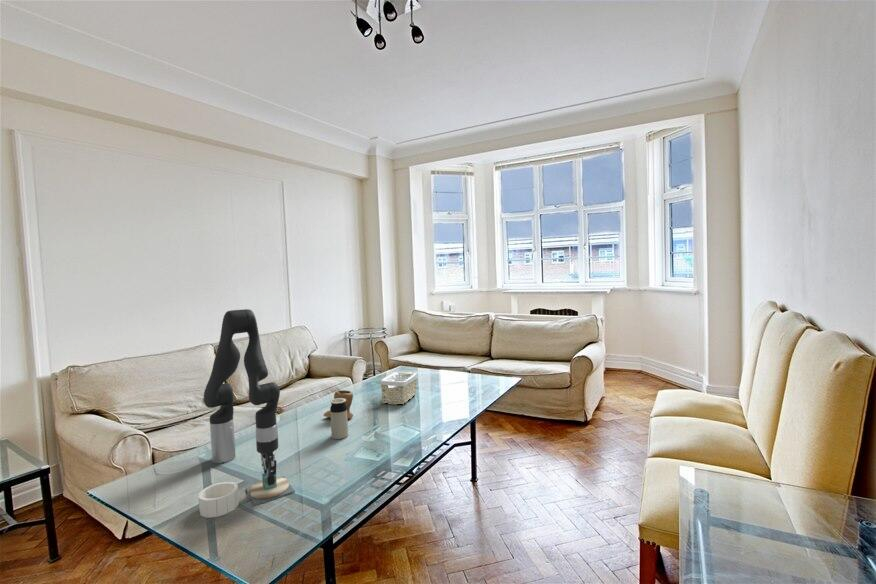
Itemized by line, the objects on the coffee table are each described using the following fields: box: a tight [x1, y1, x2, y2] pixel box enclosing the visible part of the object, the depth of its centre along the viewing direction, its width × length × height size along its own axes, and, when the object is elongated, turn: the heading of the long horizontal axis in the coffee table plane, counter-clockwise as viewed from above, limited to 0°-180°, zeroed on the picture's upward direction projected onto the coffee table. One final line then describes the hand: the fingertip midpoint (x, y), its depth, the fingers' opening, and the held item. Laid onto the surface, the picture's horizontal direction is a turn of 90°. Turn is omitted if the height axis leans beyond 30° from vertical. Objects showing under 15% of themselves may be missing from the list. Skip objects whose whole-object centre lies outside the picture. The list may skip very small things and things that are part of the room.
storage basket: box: [380, 371, 418, 405], centre depth 263 cm, size 24×16×15 cm
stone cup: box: [323, 389, 354, 420], centre depth 234 cm, size 15×12×15 cm
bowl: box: [197, 481, 240, 519], centre depth 148 cm, size 12×12×6 cm
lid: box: [249, 470, 290, 499], centre depth 158 cm, size 14×14×6 cm
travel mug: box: [329, 398, 349, 440], centre depth 207 cm, size 8×8×18 cm
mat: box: [245, 476, 296, 507], centre depth 158 cm, size 14×14×1 cm
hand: (269, 481), depth 158 cm, fingers open, 4 cm apart
